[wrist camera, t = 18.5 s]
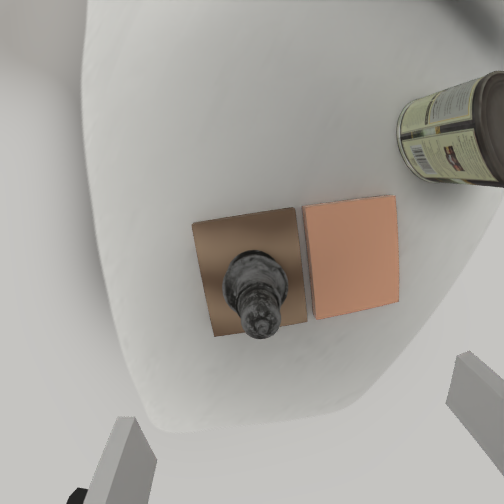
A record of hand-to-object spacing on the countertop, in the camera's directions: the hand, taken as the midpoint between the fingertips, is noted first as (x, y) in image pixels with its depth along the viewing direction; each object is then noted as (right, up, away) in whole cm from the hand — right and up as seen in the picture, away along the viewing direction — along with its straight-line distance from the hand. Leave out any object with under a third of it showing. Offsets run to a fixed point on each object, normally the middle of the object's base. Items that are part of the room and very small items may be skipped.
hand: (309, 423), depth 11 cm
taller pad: (+9, +6, +22) cm, 25 cm away
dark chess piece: (-2, +4, +21) cm, 21 cm away
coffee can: (+19, +20, +20) cm, 34 cm away
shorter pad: (-2, +4, +22) cm, 23 cm away
